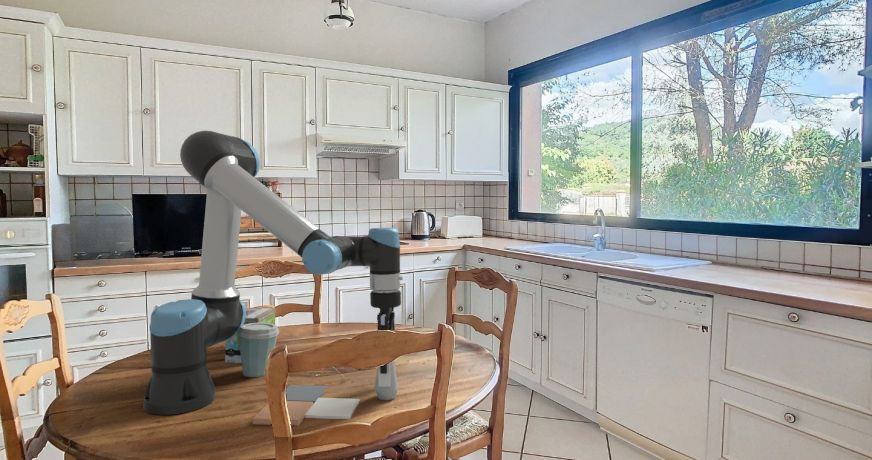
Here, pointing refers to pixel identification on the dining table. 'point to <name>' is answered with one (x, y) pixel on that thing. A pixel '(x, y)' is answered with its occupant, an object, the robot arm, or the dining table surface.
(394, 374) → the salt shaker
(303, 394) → the slate coaster
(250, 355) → the disposable coffee cup
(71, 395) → the dining table surface
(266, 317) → the tea box
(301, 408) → the terracotta coaster
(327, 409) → the white coaster
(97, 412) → the dining table surface
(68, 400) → the dining table surface
